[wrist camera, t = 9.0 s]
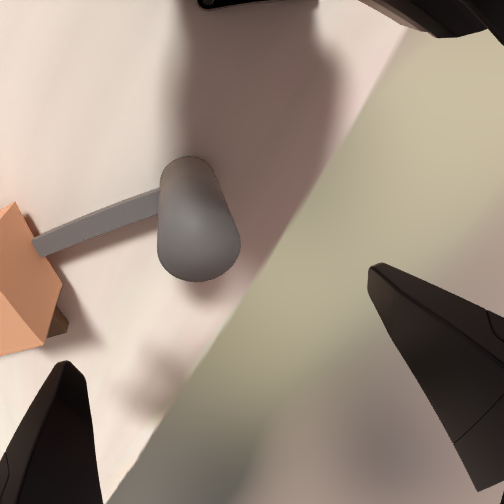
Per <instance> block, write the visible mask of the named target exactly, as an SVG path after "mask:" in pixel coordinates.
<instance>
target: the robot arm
mask: <svg viewBox="0 0 504 504" xmlns="http://www.w3.org/2000/svg"><path fill="white" fill-rule="evenodd" d="M196 1H197V5H198V7H199V8H200V9H202V10H205V11H210V10H215V9H220V8H226V7H232V6H238V5H245V4H252V3H260V2H270V1H281V0H212V1H213V3H212V4H211V5H206V4H204V3H203V0H196ZM359 1H361V2H362V3H364V4H366V5H368V6H370V7H372V8H374V9H375V10H377V11H379V12H381V13H382V14H384V15H386V16H387V17H389V18H391V19H392V20H394V21H396V22H397V23H399V24H400V25H404V26H407V27H410V28H413V29H416V30H419V31H423V32H428V33H429V34H431V35H432V36H433V37H436V38H453V37H454V38H455V37H461V36H465V35H468V34H472V33H476V32H480V31H483V30H486V29H489V30H490V32H491V33H492V34H493V35H494V36H495V37H496V38H497V39H498V41H499V42H500V43H501V44H502V45H503V46H504V0H359ZM367 288H368V293H369V296H370V298H371V300H372V302H373V304H374V306H375V308H376V310H377V312H378V314H379V316H380V317H381V320H382V322H383V323H384V325H385V328H386V329H387V332H388V334H389V335H390V337H391V339H392V341H393V342H394V344H395V346H396V347H397V349H398V350H399V352H400V353H401V355H402V357H403V358H404V360H405V361H406V363H407V365H408V366H409V368H410V369H411V371H412V373H413V374H414V376H415V378H416V379H417V381H418V383H419V384H420V386H421V388H422V390H423V391H424V393H425V395H426V396H427V398H428V400H429V401H430V403H431V405H432V407H433V408H434V410H435V412H436V414H437V415H438V417H439V419H440V421H441V423H442V424H443V426H444V428H445V430H446V432H447V433H448V435H449V437H450V439H451V441H452V443H454V444H453V445H454V447H455V449H456V451H457V452H458V454H459V456H460V458H461V460H462V462H463V464H464V466H465V468H466V470H467V472H468V474H469V476H470V478H471V480H472V482H473V484H474V486H475V488H476V490H477V491H478V492H479V491H482V490H484V489H486V488H489V487H491V486H493V485H495V484H498V483H500V482H502V481H504V318H503V317H501V316H499V315H497V314H495V313H493V312H491V311H488V310H486V309H484V308H482V307H480V306H478V305H476V304H474V303H472V302H469V301H467V300H465V299H463V298H461V297H459V296H457V295H455V294H452V293H450V292H448V291H446V290H443V289H441V288H439V287H437V286H435V285H433V284H430V283H428V282H426V281H424V280H422V279H419V278H417V277H415V276H413V275H410V274H408V273H406V272H404V271H401V270H399V269H397V268H394V267H392V266H390V265H388V264H385V263H378V264H376V265H374V266H371V267H370V268H369V271H368V286H367ZM0 504H103V500H102V494H101V489H100V483H99V476H98V469H97V461H96V453H95V444H94V433H93V424H92V418H91V412H90V405H89V398H88V391H87V383H86V379H85V377H84V375H83V374H82V373H81V372H80V371H79V370H78V369H77V368H76V367H75V366H74V365H73V364H72V363H71V362H70V361H67V360H66V361H62V362H58V363H57V364H56V365H55V366H54V368H53V369H52V371H51V373H50V374H49V376H48V377H47V379H46V380H45V382H44V384H43V385H42V387H41V389H40V390H39V392H38V393H37V395H36V397H35V398H34V400H33V402H32V404H31V405H30V407H29V409H28V410H27V412H26V414H25V416H24V417H23V419H22V421H21V423H20V425H19V426H18V428H17V430H16V432H15V434H14V436H13V437H12V439H11V441H10V443H9V445H8V447H7V449H6V452H5V453H4V455H3V457H2V459H1V461H0ZM500 504H504V493H503V496H502V499H501V503H500Z"/></svg>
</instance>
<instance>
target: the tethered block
mask: <svg viewBox="0 0 504 504" xmlns="http://www.w3.org/2000/svg"><path fill="white" fill-rule="evenodd" d="M157 214H158V233H157V253H158V257H159V260H160V262H161V264H162V266H163V267H164V268H165V270H167V271H168V272H169V273H170V274H171V275H173V276H175V277H176V278H179V279H181V280H185V281H190V282H202V281H208V280H211V279H214V278H216V277H218V276H220V275H222V274H224V273H225V272H226V271H227V270H229V269H230V268H231V267H232V265H233V264H234V263H235V261H236V259H237V257H238V255H239V252H240V246H241V243H240V236H239V233H238V230H237V228H236V226H235V223H234V221H233V218H232V216H231V213H230V211H229V209H228V206H227V204H226V201H225V199H224V196H223V194H222V192H221V189H220V187H219V184H218V182H217V179H216V177H215V174H214V172H213V170H212V168H211V167H210V166H209V165H208V164H207V163H206V162H205V161H203V160H202V159H199V158H196V157H181V158H178V159H176V160H174V161H172V162H171V163H170V164H169V165H168V166H167V167H166V168H165V169H164V171H163V173H162V175H161V178H160V188H157V189H154V190H151V191H148V192H145V193H142V194H140V195H137V196H134V197H131V198H129V199H126V200H123V201H121V202H118V203H115V204H113V205H110V206H107V207H105V208H102V209H100V210H97V211H95V212H92V213H90V214H87V215H85V216H82V217H80V218H77V219H75V220H73V221H70V222H68V223H65V224H63V225H61V226H59V227H56V228H54V229H52V230H49V231H47V232H45V233H43V234H40V235H38V236H36V237H34V236H33V234H32V232H31V231H30V229H29V227H28V225H27V223H26V221H25V220H24V218H23V216H22V214H21V212H20V210H19V208H18V206H17V204H16V202H14V203H12V204H10V205H8V206H7V207H5V208H3V209H1V210H0V356H2V355H6V354H10V353H14V352H18V351H22V350H26V349H30V348H34V347H38V346H42V345H45V341H46V337H47V333H48V329H49V326H50V322H51V319H52V315H53V312H54V309H55V306H56V302H57V299H58V296H59V293H60V290H61V287H62V284H63V283H62V282H61V280H60V279H59V277H58V276H57V274H56V273H55V271H54V269H53V268H52V266H51V265H50V263H49V261H48V260H47V258H46V257H45V256H47V255H50V254H52V253H55V252H57V251H60V250H62V249H65V248H67V247H70V246H72V245H75V244H77V243H80V242H82V241H85V240H88V239H90V238H93V237H95V236H98V235H101V234H103V233H106V232H109V231H111V230H114V229H117V228H120V227H122V226H125V225H128V224H131V223H134V222H136V221H139V220H142V219H145V218H148V217H151V216H154V215H157Z"/></svg>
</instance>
